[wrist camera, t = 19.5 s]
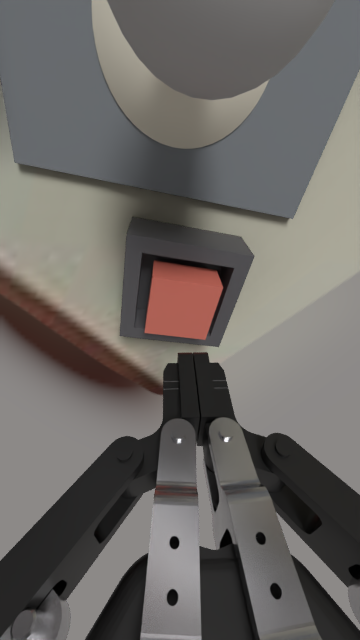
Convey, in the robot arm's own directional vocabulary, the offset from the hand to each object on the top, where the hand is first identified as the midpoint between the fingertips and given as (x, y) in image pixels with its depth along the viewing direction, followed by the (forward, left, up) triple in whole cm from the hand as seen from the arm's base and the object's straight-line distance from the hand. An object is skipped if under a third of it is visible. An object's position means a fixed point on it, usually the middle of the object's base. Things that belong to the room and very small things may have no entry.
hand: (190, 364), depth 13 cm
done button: (0, 0, -7) cm, 7 cm away
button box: (0, 0, -10) cm, 10 cm away
